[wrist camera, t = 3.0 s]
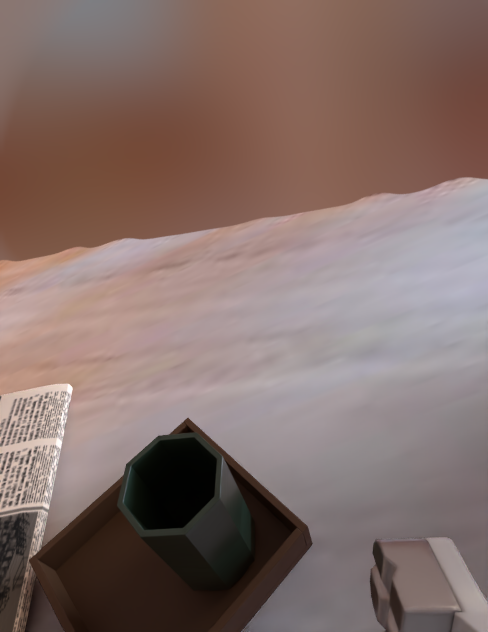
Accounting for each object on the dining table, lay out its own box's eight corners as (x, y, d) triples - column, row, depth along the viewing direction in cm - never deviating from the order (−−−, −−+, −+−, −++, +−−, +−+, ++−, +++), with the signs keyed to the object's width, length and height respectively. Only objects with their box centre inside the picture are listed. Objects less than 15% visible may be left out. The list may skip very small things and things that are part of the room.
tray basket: (198, 437, 45) (187, 417, 43) (312, 544, 36) (307, 526, 33) (51, 574, 39) (28, 560, 36) (145, 749, 29) (122, 747, 27)
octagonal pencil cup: (219, 488, 40) (179, 416, 32) (273, 542, 36) (243, 474, 28) (161, 548, 38) (101, 485, 29) (212, 613, 33) (158, 562, 25)
